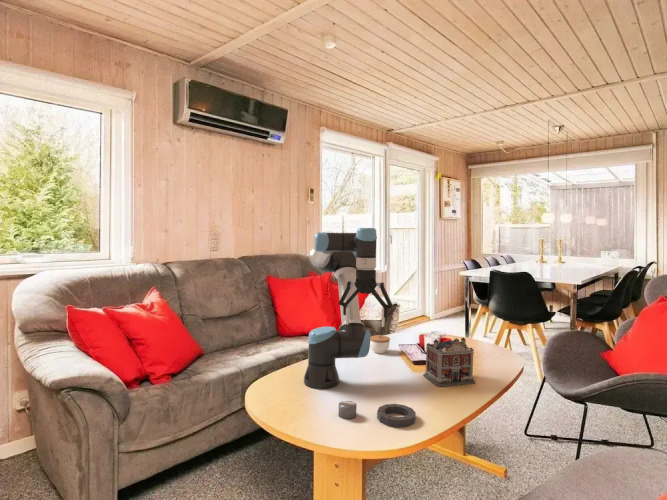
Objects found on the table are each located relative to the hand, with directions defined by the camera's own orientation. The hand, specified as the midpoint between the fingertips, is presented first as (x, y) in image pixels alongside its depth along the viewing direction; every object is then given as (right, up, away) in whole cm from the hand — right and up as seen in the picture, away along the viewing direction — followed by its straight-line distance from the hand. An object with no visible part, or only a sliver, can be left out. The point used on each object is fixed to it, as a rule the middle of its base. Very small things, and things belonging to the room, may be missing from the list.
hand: (365, 325), depth 162 cm
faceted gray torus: (+10, -31, -11) cm, 34 cm away
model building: (+39, -29, +28) cm, 56 cm away
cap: (-7, -31, -9) cm, 33 cm away
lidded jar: (+13, -27, +68) cm, 74 cm away
